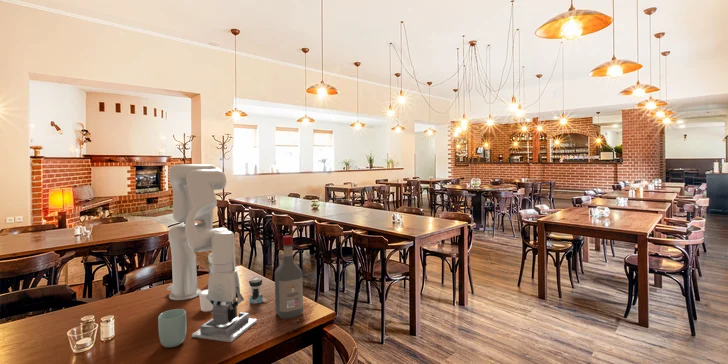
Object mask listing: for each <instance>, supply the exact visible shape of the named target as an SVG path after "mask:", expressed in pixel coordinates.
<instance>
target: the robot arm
mask: <svg viewBox="0 0 728 364" xmlns="http://www.w3.org/2000/svg"><path fill="white" fill-rule="evenodd" d="M168 180H169V182H170V186H171V187H172V218H173V220H174V221H175V222H176V223H182V224H177V225H174V226H171V228H170V229H169V230H168V241H169V245H170V252H171V270H172V271H171V272H172V284H171V283H170V284H169V285H168V286H167V287H166V290H167V291H170V293H169V294H168V299H170V300H172V301H184V300H185V301H186V300H190V299H193V298H197V297H198V296H199V292H200V291H202V290H201V289H200V288H199V287H198V277H197V275H198V273H197V271H198V270H197V254H196V253H201V252H207V251H211V253H212V263H210V267H212V271H211V272H210V275H209V274H208V283H207V289H208V295H207V296H206V298H207V299H208V300H209V301H210V302H211V303H212V305H213V308H214V307H215V306H217V305H219V304H221V303H222V302H228V304H229V310H228V320H229V321H231V320H233V319H234V318H235V316H236V307H237V308H238V306H239V304H241V303H242V302H243V301H244V300H245V298H244V297H243V295H242V294H241V286H240V285H241V284H240V278H239V277H240V276H239V273H238V270H237V269H236V248H235V247H236V246H235V245H236V243H235V233H234V232H233V231H231V230H229V229H228V228H226V227H214V228H213V226H214V225H213V223H214V209H215V208H216V207H217V205H218V200H217V197H216V194H215V191H217V190H218V191H219V190H224V189H225V187H226V185H227V176H226V174H225V173H224V170H222V169H221V168H220V167H217V166H216V165H213V164H209V163H203V164H202V163H182V164H175V165H172V166H170V168H169V169H168ZM232 302H233V304H232ZM237 305H238V306H237Z"/></svg>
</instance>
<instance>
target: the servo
mask: <svg viewBox="0 0 728 364" xmlns="http://www.w3.org/2000/svg"><path fill="white" fill-rule="evenodd" d="M232 304H233V302H232ZM238 306H239V304H238V305H237V307H236V316H235V318H236V317H238ZM228 310H229V304H228V302H221V304H219V305H217V306H215V307H214V308H213V310H212V311H210V315H212V318H213V324H218V325H226V324H227V323H228V322H230V321H229V320H228Z"/></svg>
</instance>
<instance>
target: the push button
mask: <svg viewBox="0 0 728 364" xmlns="http://www.w3.org/2000/svg"><path fill="white" fill-rule="evenodd" d="M248 284H249V286H250V287H251V294H250V297H249V303H250V304H261V303H262V302H266V301H267V298H266V297H265V298H264V297H263V295H262V293H261V291H262V290H261V286H262V285H263V279H261V277H253V278H252V277H251V279H250V280H249V282H248Z"/></svg>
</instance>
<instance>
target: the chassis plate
mask: <svg viewBox="0 0 728 364" xmlns="http://www.w3.org/2000/svg"><path fill="white" fill-rule="evenodd" d="M249 313H250V312H244V311H243V312H242V311H239V312H238V316H237V317H236V318H234V319H233V320H231V321H230V322H228V323H227V324H226V325H218V324H213V317H212V318H211V319H209V320H208V321H205V323H203V324H201V325H200V328H199V329H198V330H196V331H195V332H193V333H191V337H192V338H196V339H204V340H206V339H207V340H213V341H220V342H228V343H233V341H235V340H236V339H237V338H238V337H240V336H241V335H242V334H244V333H245V332H246V331H247V330H249V329H250V328H251V327H252V326H253V325H255V324H256V323H257V322H258V321H257V318H250V315H249Z"/></svg>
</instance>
